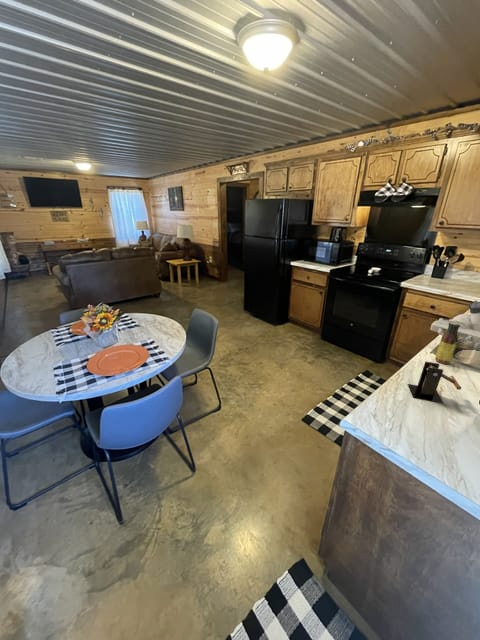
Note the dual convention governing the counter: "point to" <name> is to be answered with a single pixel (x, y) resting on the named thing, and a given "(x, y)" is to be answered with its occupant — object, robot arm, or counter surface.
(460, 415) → the counter surface
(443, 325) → the robot arm
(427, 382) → the bracket
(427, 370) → the lever
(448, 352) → the sauce bottle
